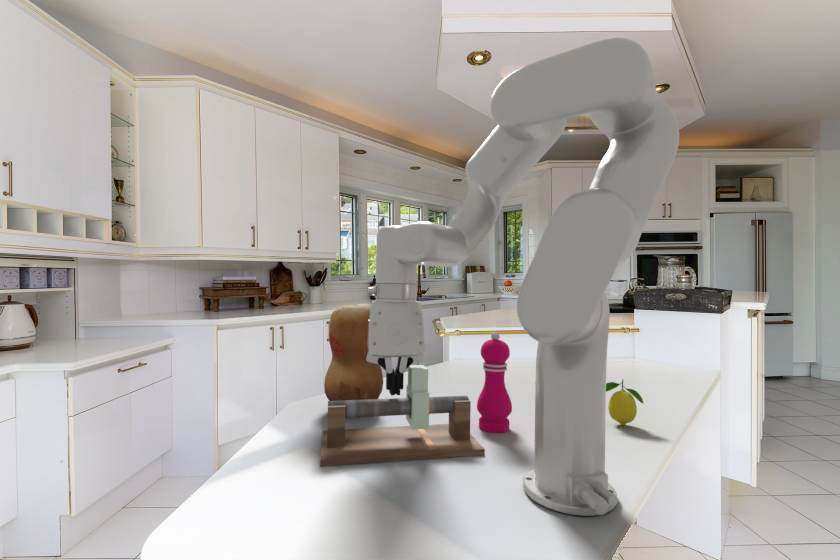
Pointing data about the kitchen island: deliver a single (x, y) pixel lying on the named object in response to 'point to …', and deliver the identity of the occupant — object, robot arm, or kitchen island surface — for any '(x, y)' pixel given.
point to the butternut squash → (351, 357)
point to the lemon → (622, 403)
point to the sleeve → (418, 397)
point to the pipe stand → (397, 432)
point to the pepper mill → (494, 387)
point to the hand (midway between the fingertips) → (394, 393)
